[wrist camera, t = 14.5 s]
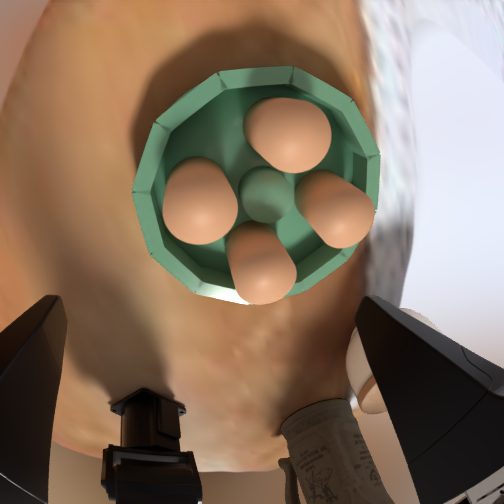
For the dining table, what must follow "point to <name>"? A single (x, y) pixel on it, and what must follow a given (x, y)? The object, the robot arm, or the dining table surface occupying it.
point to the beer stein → (329, 458)
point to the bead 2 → (287, 133)
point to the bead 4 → (334, 208)
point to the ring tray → (249, 174)
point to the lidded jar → (369, 371)
